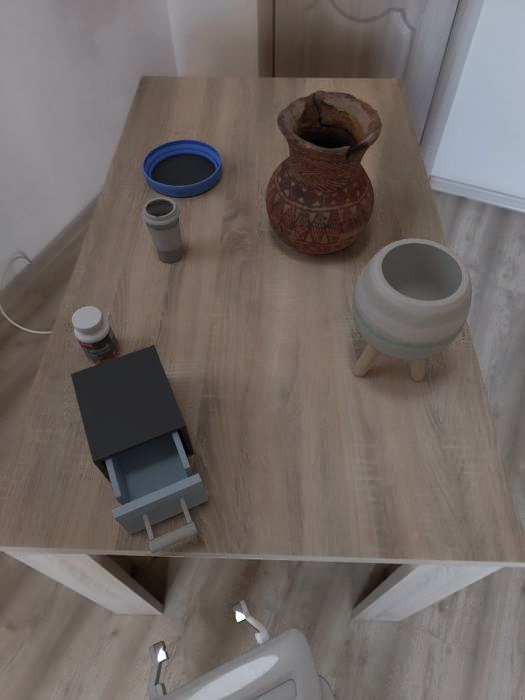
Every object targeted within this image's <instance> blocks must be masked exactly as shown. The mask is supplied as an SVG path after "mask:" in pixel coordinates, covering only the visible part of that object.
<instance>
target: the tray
mask: <svg viewBox="0 0 525 700" xmlns="http://www.w3.org/2000/svg"><path fill="white" fill-rule="evenodd" d="M105 462H106V466H107V470H108V473H109V477H110V481H111V483H110V485H111V489H112V492H113V495H114V498H115V500H116V501H117V502H118V503H119V504H120V505H119V506H116V507H115V508H112V509H111V511H112V516H113V519H114V520H115V521H116V522H117V523H118V524H119V525H120V526H121V527H122V528H123V529H124V530H125V531H126V532H127V534H129V535H133V534H135V533H138V532H140V531H143V530H144V529H145V530H146V533H147V536H148V539H149V541H148V542H147V543H148V547H149V551H150V553H151V554H152V555H154V554H156V553H158V552H160V551H163V550H165V549H167V548H170V547H172V546H174V545H176V544H178V543H182V541H185V540H187V539H189V538H191V537H194V536H196V535H198V534H199V532H198V529H197V526H196V524H195V521H193V520H192V517H191V514H190V511H189V510H190V509H193V508H195V507H197V506H199V505H201V504H204V503H206V502H208V501H209V498H208V495H207V492H206V490H205V486H204V484H203V481H202V477H201V475H200V473H199V472H198V473H195V474H194V472H193V470H192V468H191V465H190V464H191V463H190V462H189V459H188V457H187V456H186V454H185V451H184V448H183V445H182V443H181V440H180V437H179V435H178V432H177V431H176V432H174V433H171V434H169V435H166V436H164V437H161V438H159V439H156V440H154V441H151V442H149V443H146V444H144V445H141V446H139V447H136V448H134V449H131V450H128V451H126V452H123V453H121V454H118V455H116V456H113V457H111V458H108V459H106V460H105ZM180 513H183V514H184V517H185V520H186V523H187V524H185V525H182V526H179V527H177V528H175V529H173V530H171V531H169V532H167V533H164V534H162V535H159V536H158V537H155V535H154V532H153V527H152V526H154V525H156V524H158V523H161V522H163V521H165V520H168V519H169V518H172V517H174V516H177V515H178V514H180Z"/></svg>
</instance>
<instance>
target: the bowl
mask: <svg viewBox="0 0 525 700" xmlns="http://www.w3.org/2000/svg"><path fill="white" fill-rule="evenodd" d="M222 162H223V160H222V156H221V154H220V152H219V151H218V150H217V148H215V146H213V145H211V144H209V143H207V142H205V141H202V140H196V139H189V138H186V139H175V140H171V141H167V142H164V143H162V144H160V145H158V146H155V147H154V148H152V149H151V150H149V152H148V153H147V154H146V155H145V157H144V159H143V161H142V173H143V176H144V177H145V179H146V180H147V182H148V184H149V186H151V188H152V189H153V190H155V191H156V192H158V193H159V194H162V195H165V196H168V197H173V198H188V197H193V196H197V195H200V194H202V193H204V192H206V191H208V190H209V189H211V188H212V187H213V186H214V185H215V184H216V183H217V182H218V181H219V178H220V174H221V171H222V165H223V164H222Z"/></svg>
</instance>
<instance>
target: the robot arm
mask: <svg viewBox="0 0 525 700" xmlns="http://www.w3.org/2000/svg"><path fill="white" fill-rule="evenodd" d="M231 608H232V610H233V613H234V614H235V618H236V622H237V623H238V624H240V623H242V622H247V624H248V625H249V626H251V627H252V628H253V629H254V630H256V631H257V632H255V633H254V638H255V640H256V643H257V645H256V646H254V647H253V648H250V649H249V650H247V651H245V652H243V653H242V654H240V655H237V656H235V657H234V658H232V659H230V660H228V661H227V662H224V663H223V664H221V665H218V666H217V667H215V668H213V669H211V670H209V671H207V672H205V673H203V674H202V675H199V676H198V677H195V678H194V679H191V680H190V681H188V682H186V683H184V684H182V685H180V686H178V687H177V688H174V689H173V690H171V691H169V692H167V688H166V684H165V683H164V682H160V678H161V673H162V668H163V663H164V662H166V661H168V660H169V659H170V657H169V653H168V651H167V646H166V642H165V641H164V640H160V641H158V642H156V643H154V644H152V645H149V646H148V651H149V655H150V659H151V663H152V665H151V669H150V673H149V678H148V683H147V689H146V691H147V694H148V698H149V700H336V697H335V695H334V693H333V690H332V688H331V685H330V683H329V682H328V680H327V679H326V678H325V677H324V676H323V675H320V674H319V672H318V671H319V670H318V667H317V665H316V661H315V657H314V655H313V652H312V649H311V645H310V643H309V640H308V637H307V635H306V634H305V631H303V630H302V629H300V628H298V627H295V626H293V627H290V628H289V629H287V630H285V631H284V632H283V631H282V633H280V634H278V635H276V636H273V637H272V638H271V637H270V635H269V632H268V629H267V627H266V626H265V625H263V624H262V623H261V622H260V621H259V620H257V619H256V618H255V617H253V615H251V614H250V612H249V609H248V606H247V604H246V601H245V599H242V600H240V601H238V602H236V603H234V604H232V605H231Z"/></svg>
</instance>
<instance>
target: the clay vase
mask: <svg viewBox="0 0 525 700" xmlns="http://www.w3.org/2000/svg"><path fill="white" fill-rule="evenodd" d="M276 124H277V126H278V129H279V130H280V133H281V134H282V135H283V137H284V138H285V140H286V143H287V144H288V145H287V146H288V151H289V156H288V157H286V158H285V159H283V160H282V161H281V162H280V163H279V164H278V165H277V167H276V168H275V169H274V171H273V172H272V175H271V176H270V178H269V180H268V183H267V186H266V188H265V189H266V190H265V208H266V214H267V217H268V220H269V223H270V225H271V227H272V229H273V231H274V232H275V234H276V235H277V236H278V238H279V239H280V240H281V241H282V242H283V243H284V244H286V245H287V246H288V247H290V248H292V249H294V250H296V251H298V252H300V253H305V254H310V255H328V254H331V253H335V252H339V251H341V250H344V249H346V248H348V247H349V246H350V245H352V244H354V243H355V242H356V241H357V240H358V239H359V238H360V237H361V235H362V234H363V232H364V231H365V229H366V227H367V226H368V223H369V221H370V219H371V217H372V214H373V211H374V207H375V206H374V205H375V191H374V187H373V183H372V181H371V178H370V177H369V175H368V173H367V171H366V169H365V167H364V166H363V165H362V161H363V158H364V156H365V154H366V152H367V151H368V150H369V149H370V147H372V146H373V145H374V144H375V143H376V142H377V140H378V139H379V137H380V136H381V133H382V127H383V123H382V119H381V116H380V115H379V113H378V111H377V110H376V109H375V108H373V106H372V105H371V104H369V103H367V102H366V101H364V100H362V99H359V98H357V97H355V96H354V95H353V94H350V93H346V92H343V91H342V92H341V91H327V90H316V91H313V92H311V93H310V94H308V95H307V96H303V97H301V96H300V97H298V98H296V99H295V100H292V101H291V102H290V103H289V104H288V105H287V107H284V108H283V109H282V110H280V112H278V114H277V118H276Z"/></svg>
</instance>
